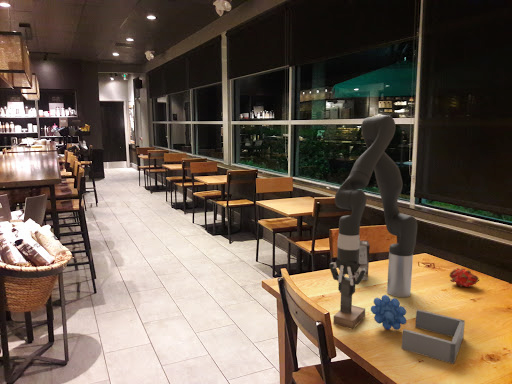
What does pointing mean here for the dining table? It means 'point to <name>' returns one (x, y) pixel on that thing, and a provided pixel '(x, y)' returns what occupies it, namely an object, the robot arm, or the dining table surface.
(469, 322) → the dining table surface
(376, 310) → the grapes
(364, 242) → the coffee box
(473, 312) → the dining table surface
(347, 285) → the post on wooden base
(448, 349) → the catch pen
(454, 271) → the dragon fruit
